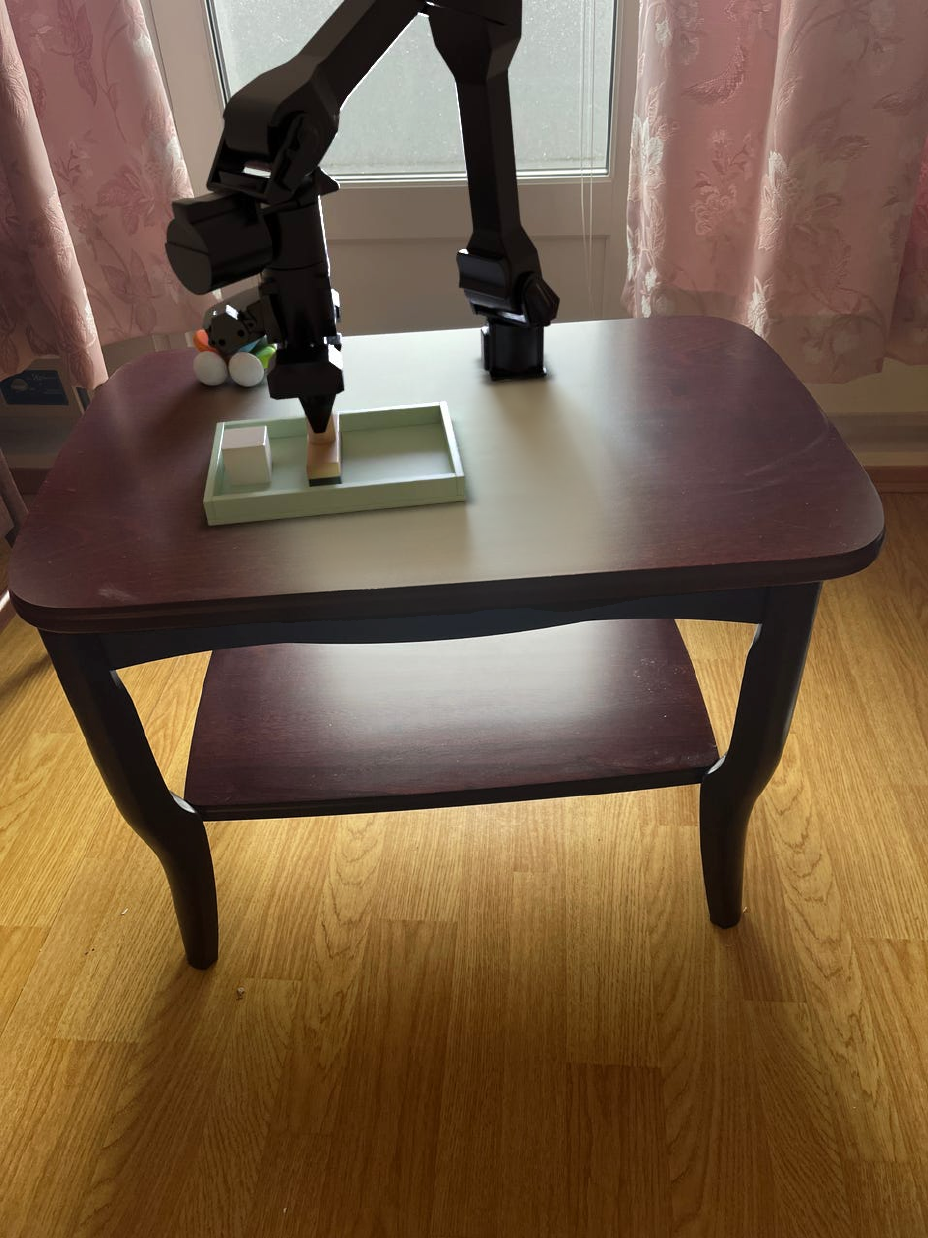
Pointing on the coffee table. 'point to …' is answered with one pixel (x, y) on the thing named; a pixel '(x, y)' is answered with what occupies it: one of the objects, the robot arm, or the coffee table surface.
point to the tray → (345, 466)
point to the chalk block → (247, 456)
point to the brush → (325, 454)
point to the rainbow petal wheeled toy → (231, 362)
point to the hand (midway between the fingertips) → (319, 425)
